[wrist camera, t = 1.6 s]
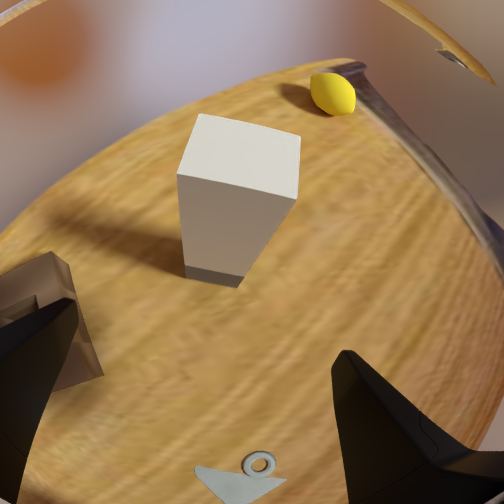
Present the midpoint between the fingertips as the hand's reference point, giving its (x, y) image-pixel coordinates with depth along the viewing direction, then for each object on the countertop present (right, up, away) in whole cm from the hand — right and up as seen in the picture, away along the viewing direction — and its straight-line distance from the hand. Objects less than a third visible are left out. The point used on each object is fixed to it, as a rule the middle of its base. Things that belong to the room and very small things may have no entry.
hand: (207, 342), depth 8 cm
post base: (-16, -4, +9) cm, 19 cm away
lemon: (+11, +22, +24) cm, 34 cm away
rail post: (-2, +2, +14) cm, 14 cm away
